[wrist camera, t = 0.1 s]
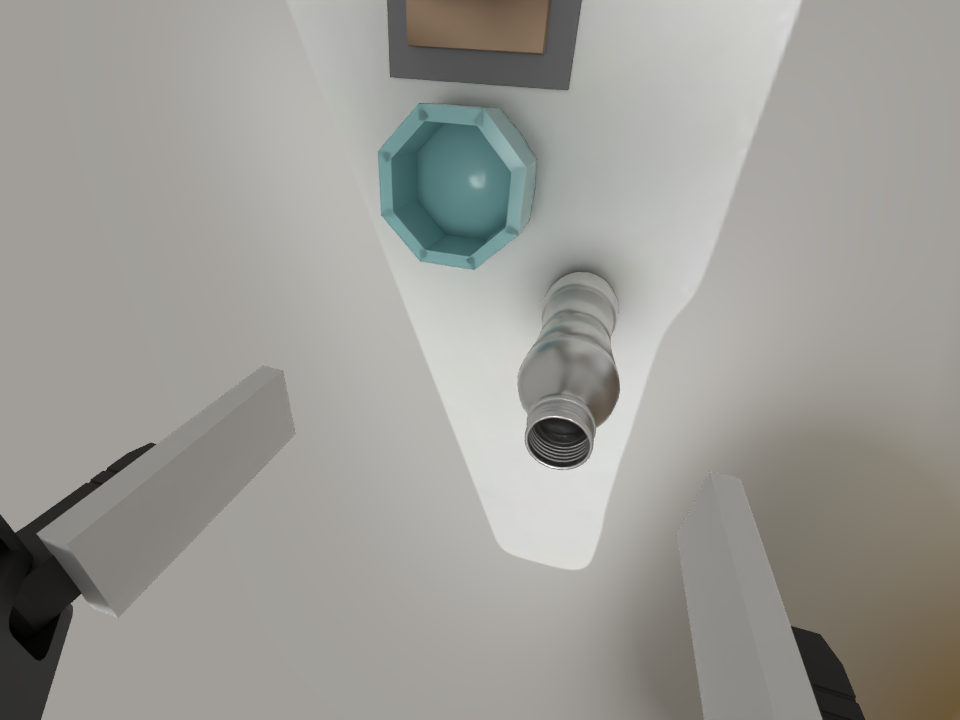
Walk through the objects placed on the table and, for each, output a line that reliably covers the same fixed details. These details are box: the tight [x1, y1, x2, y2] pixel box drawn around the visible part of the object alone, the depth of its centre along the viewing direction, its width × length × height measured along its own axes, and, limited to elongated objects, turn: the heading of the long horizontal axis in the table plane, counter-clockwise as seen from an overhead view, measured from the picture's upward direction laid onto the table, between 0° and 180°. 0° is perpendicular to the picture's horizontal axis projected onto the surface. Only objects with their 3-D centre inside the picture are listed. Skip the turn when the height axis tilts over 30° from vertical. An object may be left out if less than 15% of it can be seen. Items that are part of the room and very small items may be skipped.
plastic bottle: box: [517, 272, 620, 470], centre depth 31 cm, size 6×7×20 cm
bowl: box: [378, 103, 537, 270], centre depth 34 cm, size 11×11×6 cm
